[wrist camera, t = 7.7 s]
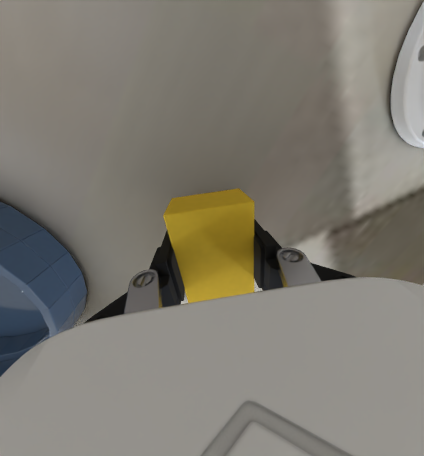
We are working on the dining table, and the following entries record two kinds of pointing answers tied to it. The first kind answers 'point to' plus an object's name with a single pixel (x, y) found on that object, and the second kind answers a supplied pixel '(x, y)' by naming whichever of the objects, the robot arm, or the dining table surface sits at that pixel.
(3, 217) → the bowl
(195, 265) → the sponge
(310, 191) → the dining table surface
